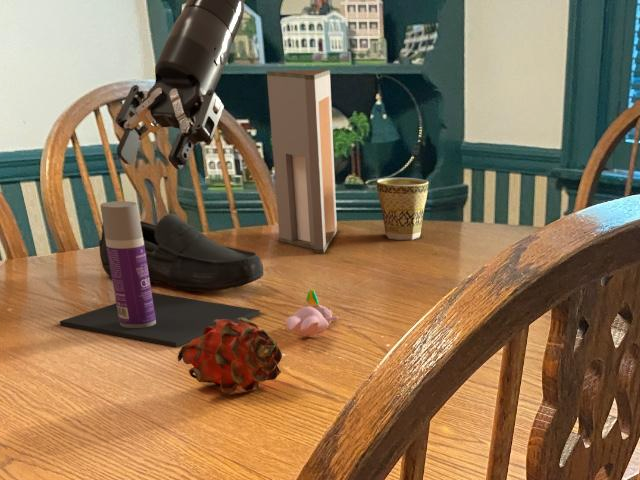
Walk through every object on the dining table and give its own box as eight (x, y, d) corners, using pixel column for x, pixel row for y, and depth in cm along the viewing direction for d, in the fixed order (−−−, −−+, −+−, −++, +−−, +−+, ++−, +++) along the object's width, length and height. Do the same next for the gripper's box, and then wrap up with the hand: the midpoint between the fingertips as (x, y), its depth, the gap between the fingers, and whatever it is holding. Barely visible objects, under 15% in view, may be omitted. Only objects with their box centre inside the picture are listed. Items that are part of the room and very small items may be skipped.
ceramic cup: (408, 244, 172) (408, 186, 167) (367, 237, 177) (365, 181, 171) (446, 233, 182) (447, 179, 176) (405, 227, 186) (405, 174, 181)
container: (154, 328, 121) (135, 207, 113) (117, 328, 120) (96, 207, 112) (158, 318, 125) (140, 200, 117) (122, 319, 124) (102, 201, 116)
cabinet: (323, 253, 164) (314, 75, 149) (270, 252, 164) (255, 73, 149) (337, 231, 182) (329, 69, 167) (289, 230, 182) (277, 68, 167)
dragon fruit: (292, 407, 103) (193, 416, 105) (298, 345, 106) (201, 355, 108) (265, 362, 95) (159, 372, 97) (272, 296, 98) (169, 308, 100)
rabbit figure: (301, 329, 128) (272, 342, 114) (300, 284, 126) (270, 293, 112) (345, 331, 128) (321, 345, 114) (344, 286, 125) (320, 295, 112)
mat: (60, 325, 123) (59, 320, 123) (151, 296, 137) (151, 292, 136) (176, 347, 116) (175, 342, 115) (260, 314, 130) (259, 309, 129)
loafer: (246, 301, 135) (239, 228, 130) (83, 282, 143) (70, 213, 137) (279, 285, 144) (273, 216, 138) (123, 268, 151) (112, 203, 146)
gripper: (135, 32, 119) (87, 137, 116) (223, 34, 113) (175, 145, 111) (169, 77, 125) (124, 177, 123) (253, 81, 120) (208, 186, 118)
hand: (148, 162), depth 117 cm, fingers open, 8 cm apart
